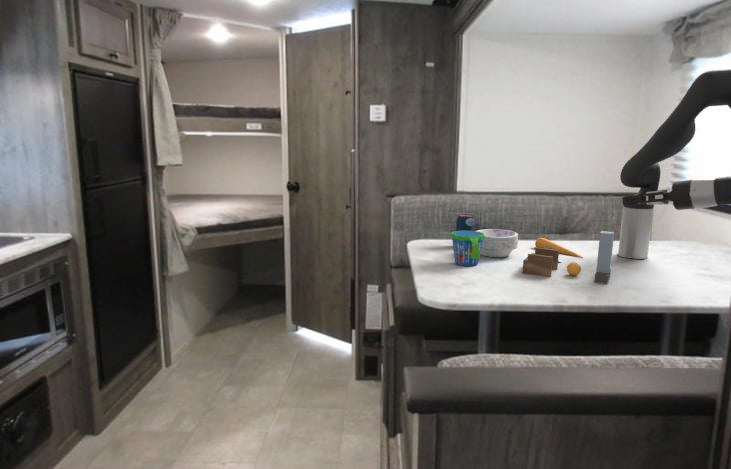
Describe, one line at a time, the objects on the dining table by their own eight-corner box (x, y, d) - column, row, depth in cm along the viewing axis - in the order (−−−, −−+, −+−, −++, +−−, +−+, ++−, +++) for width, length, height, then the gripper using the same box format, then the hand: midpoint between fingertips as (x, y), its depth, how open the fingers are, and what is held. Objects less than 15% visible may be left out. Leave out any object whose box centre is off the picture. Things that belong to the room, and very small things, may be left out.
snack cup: (445, 258, 173) (446, 228, 171) (476, 258, 173) (478, 228, 171) (455, 270, 157) (456, 237, 155) (488, 270, 158) (490, 238, 156)
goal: (530, 265, 164) (532, 246, 163) (557, 268, 160) (559, 250, 159) (522, 273, 155) (523, 253, 154) (550, 277, 151) (552, 257, 150)
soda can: (475, 249, 187) (477, 216, 184) (456, 248, 187) (458, 216, 184) (472, 245, 193) (473, 213, 191) (453, 244, 193) (455, 213, 191)
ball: (567, 272, 156) (568, 260, 155) (581, 274, 154) (582, 261, 153) (565, 275, 152) (566, 262, 151) (579, 277, 150) (580, 264, 149)
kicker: (597, 275, 154) (602, 229, 151) (610, 276, 152) (615, 230, 149) (594, 282, 146) (599, 234, 143) (607, 284, 144) (612, 235, 142)
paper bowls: (464, 254, 178) (465, 232, 176) (484, 247, 189) (486, 226, 188) (505, 262, 168) (506, 238, 166) (524, 254, 179) (525, 232, 178)
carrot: (533, 249, 190) (532, 239, 188) (541, 244, 192) (540, 234, 190) (580, 266, 175) (580, 255, 173) (589, 260, 176) (588, 249, 174)
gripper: (700, 180, 136) (635, 187, 148) (687, 178, 126) (618, 187, 137) (703, 207, 136) (637, 213, 148) (690, 208, 126) (620, 214, 137)
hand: (628, 200), depth 143 cm, fingers open, 8 cm apart
